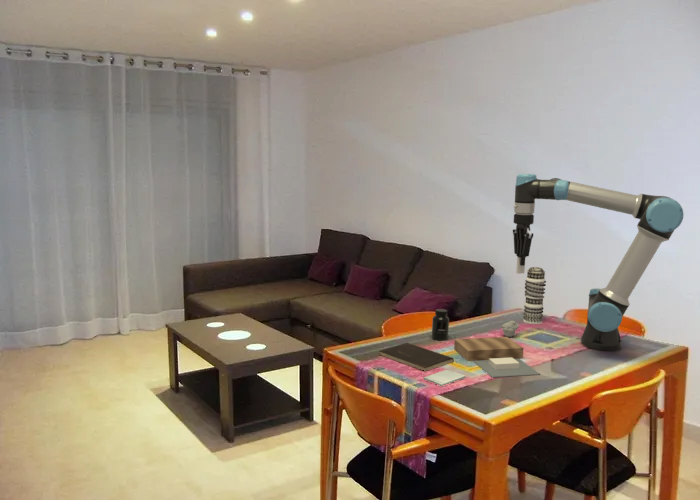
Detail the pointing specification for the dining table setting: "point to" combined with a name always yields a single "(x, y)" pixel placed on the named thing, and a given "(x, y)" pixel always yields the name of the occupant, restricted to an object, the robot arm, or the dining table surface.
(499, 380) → the dining table surface
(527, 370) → the mat
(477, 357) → the brown wooden block
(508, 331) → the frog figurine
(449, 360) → the hardcover book
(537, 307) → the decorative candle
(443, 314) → the supplement bottle
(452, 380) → the hard drive
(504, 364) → the cream rectangular block
